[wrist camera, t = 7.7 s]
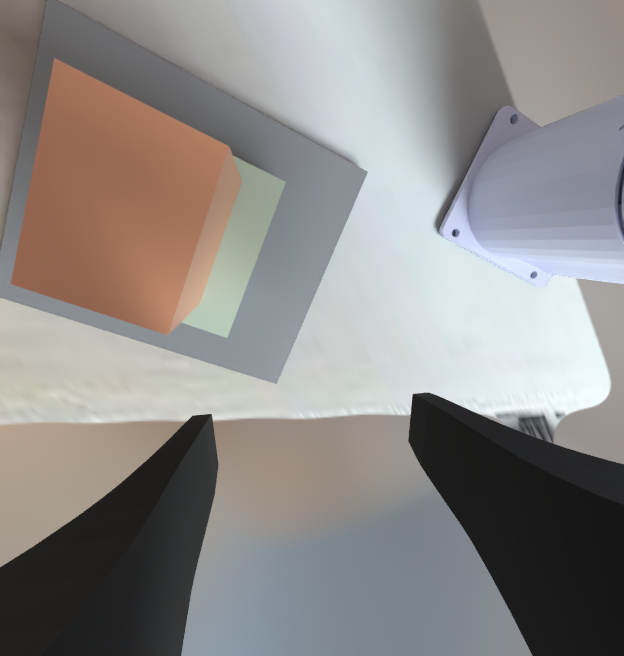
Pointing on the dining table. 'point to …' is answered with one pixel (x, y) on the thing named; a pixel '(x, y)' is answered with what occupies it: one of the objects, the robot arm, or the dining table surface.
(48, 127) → the top brick
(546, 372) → the dining table surface
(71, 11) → the tower base
